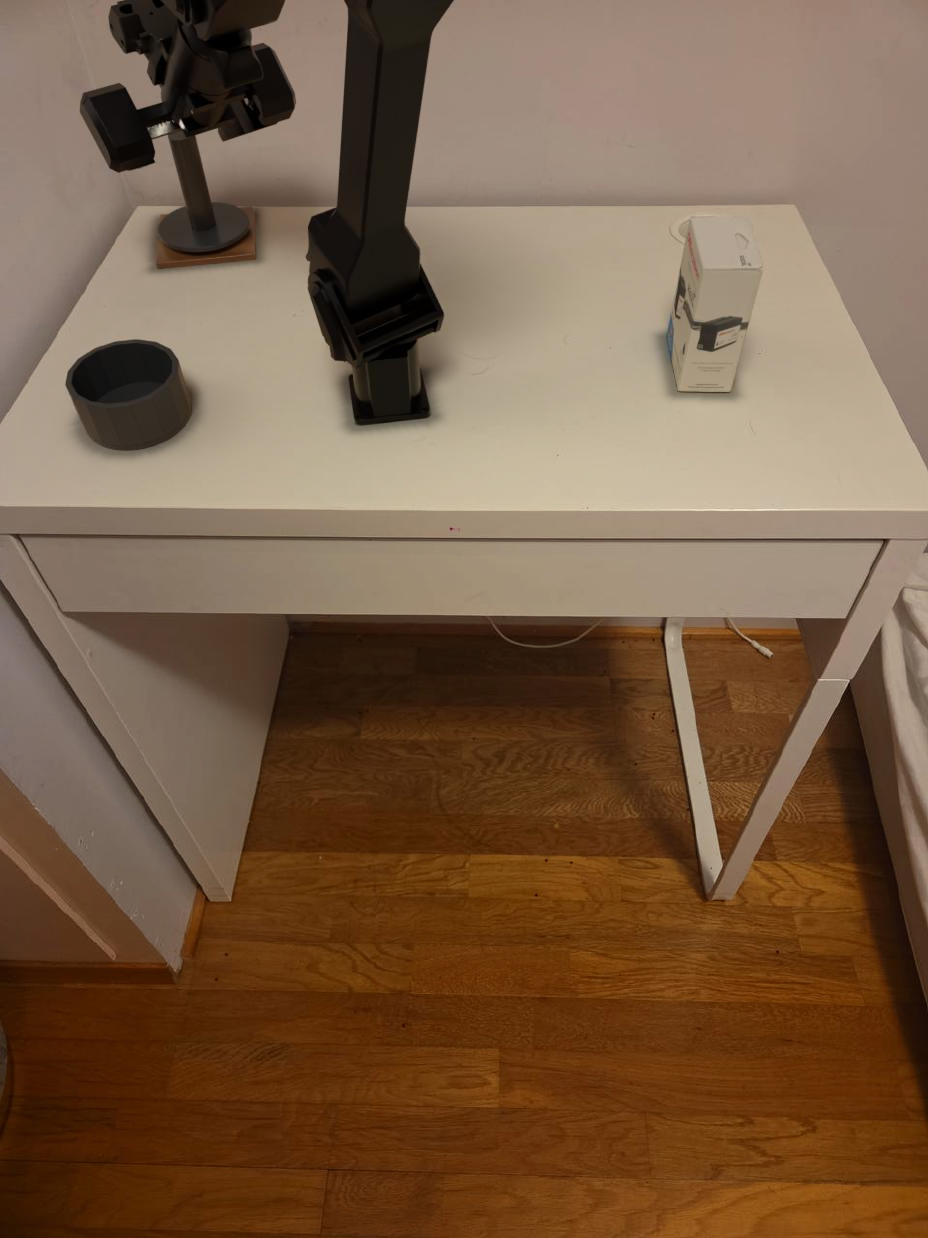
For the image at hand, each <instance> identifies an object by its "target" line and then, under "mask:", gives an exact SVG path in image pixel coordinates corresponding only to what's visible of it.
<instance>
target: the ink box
mask: <svg viewBox="0 0 928 1238" xmlns="http://www.w3.org/2000/svg"><path fill="white" fill-rule="evenodd" d="M751 223H752V222H751V219H750V218H749V217H747V216H745V215H731V216H730V215H716V216H712V215H711V216H710V215H707V216H706V215H705V216H701V215H700V216H697V215H695V216H690V217H689V221H688V225H687V230H686V235H685V240H684V246H683V251H682V256H681V261H680V267H679V271H678V276H677V281H676V287H675V291H674V296H673V302H672V306H671V312H670V317H669V322H668V327H667V332H666V341H667V345H668V350H669V355H670V359H671V364H672V369H673V373H674V378H675V383H676V388H677V391H678V392H691V393H692V392H700V393H701V392H703V393H730V392H732V389H733V385H734V381H735V377H736V373H737V370H738V366H739V361H740V358H741V355H742V352H743V351H742V350H743V346H744V343H745V339H746V336H747V331H748V328H749V324H750V321H751V317H752V314H753V310H754V306H755V303H756V298H757V295H758V290H759V287H760V285H761V279H762V275H763V273H764V269H763V266H764V261H763V259H762V258H763V257H762V255H761V252H760V250H759V247H758V242H757V239H756V236H755V233H754V229H753V225H752V224H751Z"/></svg>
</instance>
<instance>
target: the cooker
mask: <svg viewBox="0 0 928 1238" xmlns="http://www.w3.org/2000/svg"><path fill="white" fill-rule="evenodd" d="M64 385H65V386H64V387H66V390H67V393H68V395H69V397H70V399H71V402H72V404H73V407H74V409H75V411H76V414H77V415H78V418H79V420H80V422H81V424H82V426H83V428H84V430H85V432H86V434H87V436H88V437H89V438H90V440H92V441H93V442H94V443H96V444H97V445H99V446H101V447H104V448H107V449H111V450H115V451H116V450H117V451H118V450H119V451H136V450H142V449H143V450H144V449H147V448H150V447H154V446H157V445H159V444H161V443H164V442H166V441H168V440H169V439H172V438H173V437H175V436H176V435H177V434H178V433H179V432H181V431H182V429H183V428H184V427H186V425H187V424H188V422H189V420H190V417H191V415H192V409H193V408H192V402H191V396H190V392H189V390H188V386H187V383H186V380H185V376H184V373H183V370H182V367H181V363H180V360H179V358H178V357H177V355H176V353H174V351H173V350H172V349H171V348H169V347H168V346H166V345H164V344H161V343H160V342H158V341H155V340H154V341H153V340H147V339H140V338H139V339H137V338H134V339H124V340H116V341H111V342H109V343H107V344H103V345H100V346H97V347H95V348H92V349H91V350H90V351H88V352H86V353H84V354H83V355H82V356H80V357H78V358H77V359H76V360H75V362H74V363H73V364H72V365H71V367H69V369H68V370H67V374H66V379H65V384H64Z"/></svg>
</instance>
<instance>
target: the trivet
mask: <svg viewBox="0 0 928 1238" xmlns="http://www.w3.org/2000/svg"><path fill="white" fill-rule="evenodd" d="M240 208H241V209H242V210H243V211H245V213H246V214H247V215H248V218H249V222H250V226H249V230H248V232H247V233H246V234H245V236H244V237H243V238H241V239H240V240H239V241H237V242H235V243H234V244H232V245H229V246H227V247H224V248H221V249H218V250H213V251H207V252H185V251H180V250H176V249H173V248H171V247H169V246H167V245H165V244H164V243H163V242H162V240H161V239H160V237H159V234H158V237H157V245H156V247H157V249H156V258H155V265H156V268H157V269H158V270H159V269H166V268H167V269H168V268H169V269H170V268H178V267H188V266H198V265H199V266H201V265H209V264H211V265H212V264H219V263H220V264H221V263H231V262H239V261H240V262H241V261H251V260H256V259H257V255H256V254H257V253H256V230H255V229H256V227H255V210H254V206H243V207H242V206H241V207H240ZM168 214H169V213H165V214H160V215H159V223H160V222H161V220H162V219H163V218H164V217H165V216H167V215H168Z"/></svg>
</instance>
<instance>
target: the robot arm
mask: <svg viewBox="0 0 928 1238" xmlns="http://www.w3.org/2000/svg"><path fill="white" fill-rule="evenodd" d="M454 1H455V0H343V2H344V3H345V5H346V8H347V30H346V31H347V32H346V45H345V47H346V48H345V64H344V81H343V95H342V97H343V99H342V114H341V115H342V116H341V129H340V130H341V131H340V148H339V149H340V150H339V162H338V163H339V166H338V182H337V183H338V184H337V199H336V207H333V208H331V209H328V210H325V211H322V212H320V213H316V214H314V215H312V216H310V218H309V221H308V225H307V238H308V246H307V247H308V248H307V252H306V254H305V259H306V261H307V262H309V268H308V275H307V292H308V295H309V299H310V301H311V304H312V307H313V310H314V313H315V317H316V320H317V324H318V327H319V330H320V333H321V336H322V337H323V339H324V342H325V344H326V345H327V346H329V353H330V358H331V359H332V360H333V361H334V362H344V363H348V364H349V365H350V366H351V372H352V373H351V374H349V375H348V386H349V393H350V401H351V406H352V407H351V408H352V414H353V415H352V416H353V421H354V424H357V425H366V424H375V423H384V422H385V423H386V422H391V421H392V422H393V421H400V420H401V421H402V420H411V419H418V418H427V417H429V416H430V415H431V408H430V403H429V398H428V393H427V389H426V385H425V381H424V380H425V379H424V376H423V371H422V369H421V366H420V349H419V348H420V347H419V339H421V338H424V337H426V336H428V335H430V334H432V333H437V332H440V331H441V329H442V326H443V322H444V318H445V312H444V310H443V307H442V306H441V303H440V302H439V299H438V298H437V295H436V292H435V291H434V289H433V286H432V285H431V282H430V280H429V279H428V276H427V274H426V272H425V270H424V267H423V266H422V263H421V248H420V246H419V245H418V242H417V241H416V240H415V238H414V237H413V235H412V233H411V232H410V230H409V228H408V227H407V225H406V215H407V214H406V212H407V207H408V200H409V194H410V186H411V181H412V173H413V167H414V159H415V152H416V145H417V138H418V132H419V127H420V117H421V112H422V104H423V98H424V90H425V84H426V83H425V82H426V77H427V69H428V63H429V57H430V49H431V42H432V36H433V32H434V30H435V28H436V26H438V24H439V23H440V21H441V20H442V18H443V17H444V15H445V14H446V13H447V10H449V9H450V7H451V5H452V4H453V2H454ZM285 4H286V0H118V1H117V2H116V4H113V5H111V6H110V8H109V12H108V15H107V19H108V27H109V31H110V33H111V36H112V38H113V39H114V41H115V42H116V44H117V45H118V47H119V48H120V49H121V51H122V52H123V53H124V54H125V55H128V54H131V53H137V54H139V56H141V55H144V57H145V58H146V59H147V61H148V63H147V69H146V74H147V75H148V78H149V80H150V81H151V84H152V85H153V87H155V86H159V87H160V100H161V102H158V103H155V104H152V105H148V106H145V107H142V108H137V106H136V105H135V103H134V101H133V99H132V97H131V95H130V93H129V91H128V89H127V87H126V86H125V85H123V84H122V83H121V82H117V83H114V84H110V85H106V86H102V87H99V88H96V89H95V88H94V89H92V90H88V91H85V92H83V93H82V95H81V98H80V102H79V114H80V115H81V117H82V119H83V122H84V123H85V126H86V127H87V129H88V131H89V132H90V134H91V136H92V138H93V140H94V142H95V144H96V146H97V147H98V150H99V152H100V153H101V155H102V157H103V159H104V161H105V163H106V164H107V166H108V168H109V169H110V170H111V171H114V172H116V173H118V174H119V173H123V172H130V171H131V172H132V171H134V170H138V169H143V168H145V167H148V166H150V165H153V164H156V161H155V157H156V149H155V145H154V141H153V140H156V139H159V138H162V137H165V136H168V135H169V134H172V133H175V132H178V131H183V133H184V135H185V137H186V138H188V137H191V136H195V135H196V136H198V135H201V134H203V133H207V132H210V131H213V130H217V133H218V136H219V138H220V140H221V141H222V142H223V143H224V142H226V141H227V142H228V141H230V140H233V139H236V138H239V137H241V136H245V135H248V134H251V133H254V132H257V131H260V130H263V129H267V128H269V127H272V126H275V125H277V124H278V123H280V122H283V121H287V120H290V119H291V117H292V115H293V113H294V110H295V109H296V105H297V98H296V92H295V90H294V88H293V86H292V84H291V82H290V80H289V78H288V76H287V74H286V71H285V70H284V66H283V65H282V64H281V61H280V59H279V57H278V55H277V53H276V51H275V50H274V49H273V48H272V47H271V46H270V45H268V44H266V43H264V42H260V43H257V44H256V43H255V44H253V45H252V42H253V34H252V33H253V32H252V30H253V29H255V28H260V27H263V26H267V25H270V24H274V23H275V22H278V20H279V18H280V16H281V13H282V10H283V8H284V5H285Z"/></svg>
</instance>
